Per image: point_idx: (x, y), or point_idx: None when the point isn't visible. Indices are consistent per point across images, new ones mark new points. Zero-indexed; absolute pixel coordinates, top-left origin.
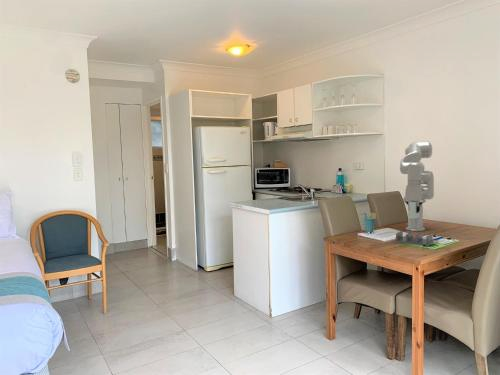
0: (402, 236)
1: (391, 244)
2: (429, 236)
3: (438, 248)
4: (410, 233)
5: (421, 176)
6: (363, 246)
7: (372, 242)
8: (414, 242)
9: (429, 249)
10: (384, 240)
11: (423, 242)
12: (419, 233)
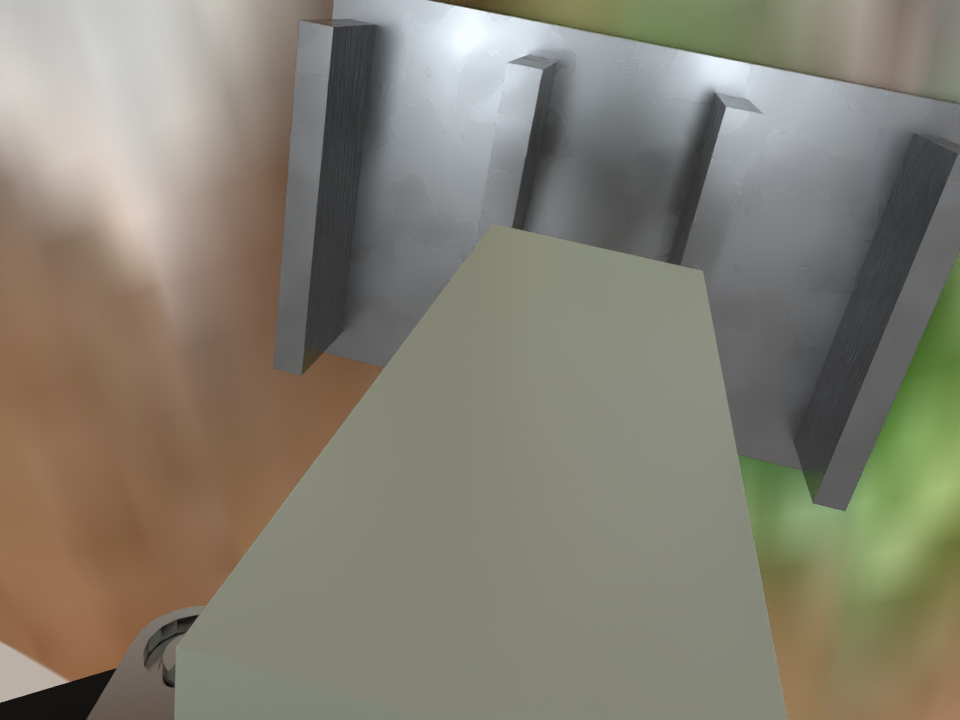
0: (370, 45)
1: (304, 453)
2: (879, 419)
3: (951, 551)
4: (514, 221)
5: None
6: (50, 608)
7: (54, 396)
8: None
9: (809, 621)
10: (149, 224)
11: (749, 402)
12: (694, 238)
